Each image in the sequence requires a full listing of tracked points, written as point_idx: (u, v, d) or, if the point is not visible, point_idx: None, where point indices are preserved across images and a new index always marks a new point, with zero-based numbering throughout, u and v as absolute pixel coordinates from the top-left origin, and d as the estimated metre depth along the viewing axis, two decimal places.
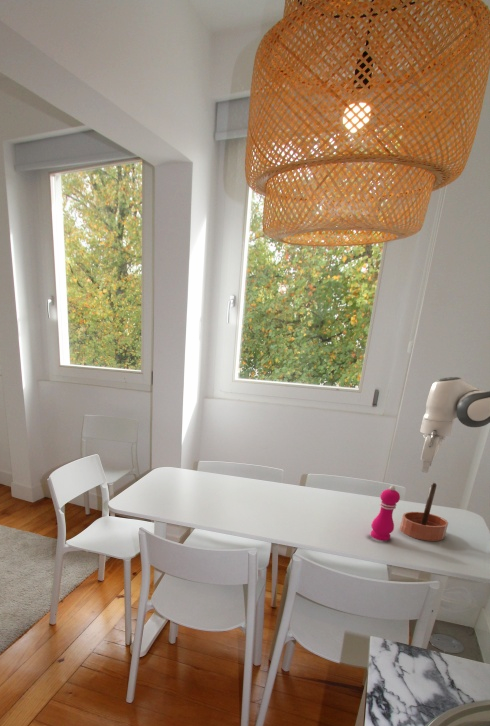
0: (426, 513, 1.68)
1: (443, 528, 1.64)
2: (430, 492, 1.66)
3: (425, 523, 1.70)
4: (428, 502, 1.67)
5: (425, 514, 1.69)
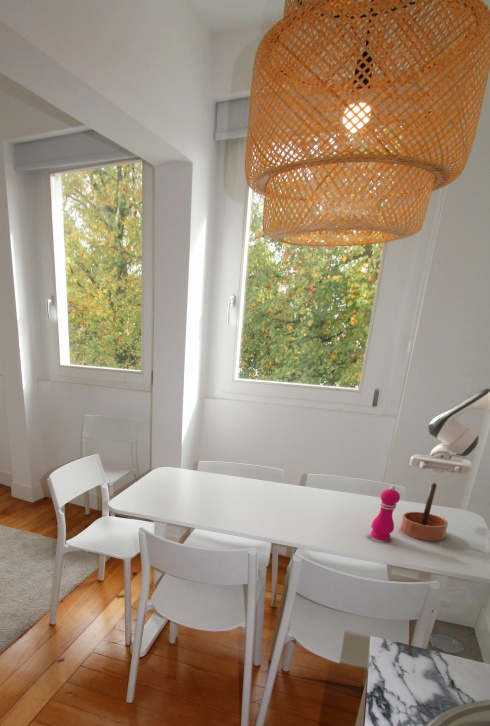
0: (426, 513, 1.68)
1: (443, 528, 1.64)
2: (430, 492, 1.66)
3: (425, 523, 1.70)
4: (428, 502, 1.67)
5: (425, 514, 1.69)
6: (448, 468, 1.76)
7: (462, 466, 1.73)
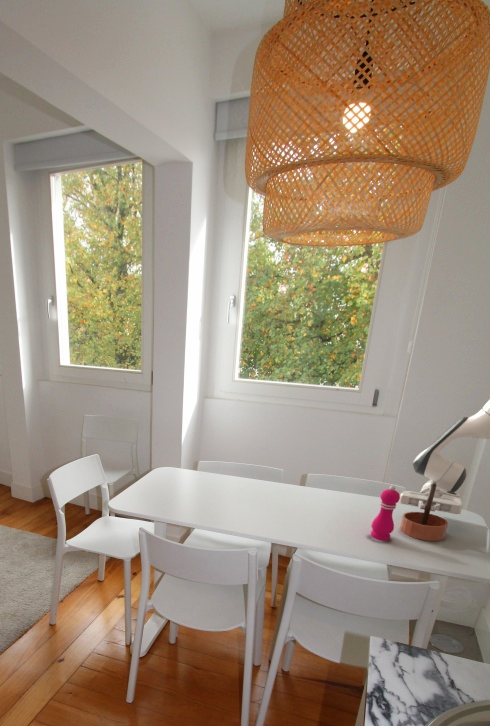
0: (426, 513, 1.68)
1: (443, 528, 1.64)
2: (430, 492, 1.66)
3: (425, 523, 1.70)
4: (428, 502, 1.67)
5: (425, 514, 1.69)
6: None
7: (452, 505, 1.67)
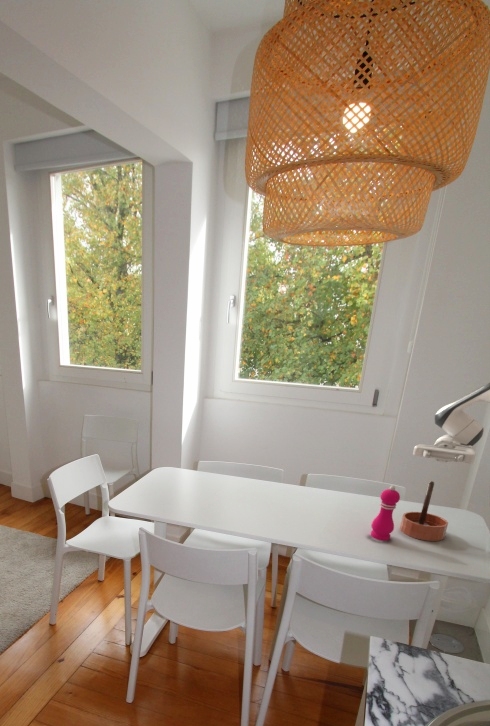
0: (423, 511, 1.70)
1: (443, 528, 1.64)
2: (427, 490, 1.68)
3: (422, 521, 1.72)
4: (425, 500, 1.69)
5: (422, 512, 1.71)
6: (452, 457, 1.76)
7: (466, 455, 1.73)
